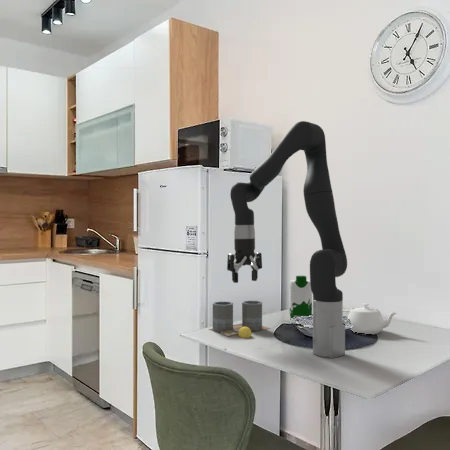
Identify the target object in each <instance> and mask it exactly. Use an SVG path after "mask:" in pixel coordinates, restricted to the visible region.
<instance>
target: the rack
mask: <svg viewBox="0 0 450 450" xmlns="http://www.w3.org/2000/svg"><path fill="white" fill-rule="evenodd" d="M241 305H242V307H241V310H242V311H241V315H242V316H241V323H237V324H234V302H232V301H225V300H223V301H221V300H220V301H214V302H213V303H212V328H208V330H209V331H211V332H213V333H217V334H220V335H223V336H226V337H228V338H229V337H235V336H239V334H238V333H239V330H240V328H242V327H248V328H250V330H251V333H256V332H260V331H265V330H271V329H272V328H270V327H267V326H263V301H260V300H243V301H242V302H241Z"/></svg>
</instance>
